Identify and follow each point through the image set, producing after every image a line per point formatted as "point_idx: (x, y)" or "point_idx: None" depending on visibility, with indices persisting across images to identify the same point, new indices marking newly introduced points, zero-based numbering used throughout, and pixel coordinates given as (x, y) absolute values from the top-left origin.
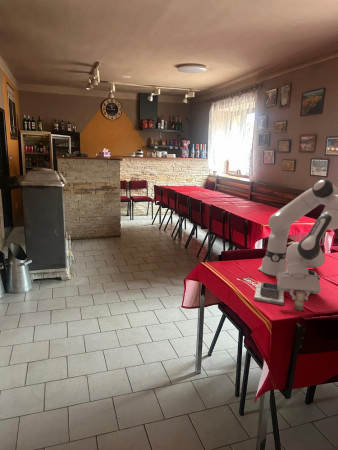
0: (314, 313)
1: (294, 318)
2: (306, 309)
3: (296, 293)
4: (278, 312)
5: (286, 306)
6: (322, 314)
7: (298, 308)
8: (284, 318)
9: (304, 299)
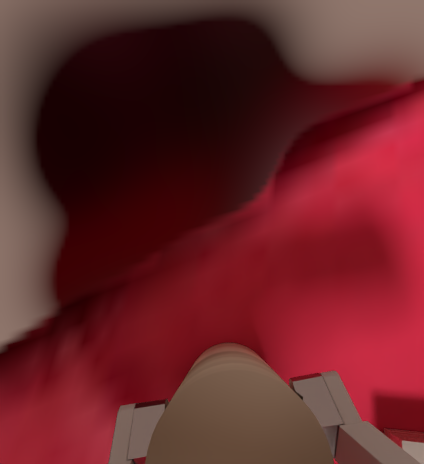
0: (90, 335)
1: (282, 167)
2: None
3: (321, 441)
4: (413, 230)
5: None
6: (19, 341)
7: (237, 344)
8: (358, 139)
9: None
